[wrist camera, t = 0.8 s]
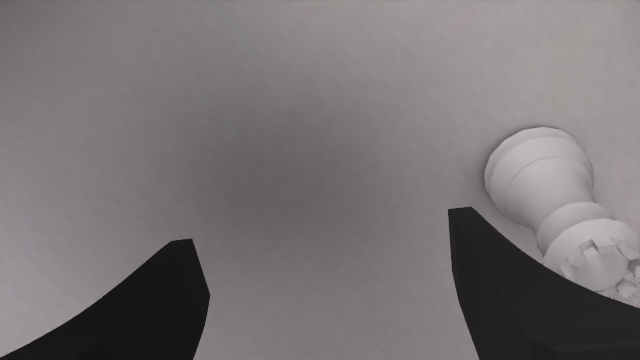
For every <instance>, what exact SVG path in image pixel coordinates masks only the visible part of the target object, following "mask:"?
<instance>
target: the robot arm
mask: <svg viewBox="0 0 640 360" xmlns="http://www.w3.org/2000/svg"><path fill="white" fill-rule="evenodd" d="M448 217H449V232H450V246H451V261H452V273H453V277H454V282H455V287H456V291H457V295H458V300H459V304H460V306H461V309H462V312H463V315H464V318H465V321H466V323H467V326H468V329H469V332H470V334H471V337H472V340H473V343H474V346H475V348H476V351H477V354H478V357H479V359H480V360H640V308H637V307H634V306H631V305H628V304H625V303H622V302H620V301H617V300H614V299H611V298H609V297H606V296H604V295H601V294H599V293H596V292H594V291H592V290H589V289H587V288H585V287H583V286H581V285H579V284H576V283H574V282H572V281H570V280H568V279H566V278H565V277H563V276H561V275H559V274H557V273H556V272H554V271H552V270H550V269H549V268H547V267H545V266H544V265H542V264H540V263H539V262H537V261H536V260H534V259H533V258H531V257H530V256H529V255H527V254H526V253H524V252H523V251H522V250H520V249H519V248H518V247H516V246H515V245H514V244H513V243H511V242H510V241H509V240H508V239H507V238H505V237H504V236H503V235H502V234H501V233H499V232H498V231H497V230H496V229H495V228H494V227H493V226H492V225H491V224H489V223H488V222H487V221H486V220H485V219H484V218H483V217H482V216H481V215H480V214H479V213H478V212H477V211H476V210H475V209H473V208H472V207H463V208H455V209H448ZM209 300H210V293H209V290H208V286H207V283H206V280H205V277H204V274H203V271H202V268H201V265H200V262H199V259H198V255H197V252H196V249H195V246H194V243H193V240H192V239H183V240H175V241H171V242H169V243H168V244H167V245H165V246H164V247H163V248H161V249H160V250H159V251H158V252H157V253H155V254H154V255H153V256H152V257H151V258H149V259H148V260H147V261H146V262H145V263H144V264H142V265H141V266H140V267H139V268H138V269H136V270H135V271H134V272H133V273H132V274H131V275H129V276H128V277H127V278H126V279H125V280H123V281H122V282H121V283H120V284H118V285H117V286H116V287H115V288H113V289H112V290H111V291H109V292H108V293H107V294H106V295H104V296H103V297H102V298H101V299H99V300H98V301H97V302H95V303H94V304H93V305H91V306H90V307H88V308H87V309H85V310H84V311H83V312H81V313H80V314H78V315H77V316H75V317H73V318H72V319H70V320H69V321H67V322H66V323H64V324H63V325H61V326H59V327H57V328H56V329H54V330H52V331H50V332H49V333H47V334H45V335H43V336H42V337H40V338H38V339H36V340H34V341H33V342H31V343H29V344H27V345H25V346H23V347H21V348H19V349H17V350H15V351H13V352H11V353H9V354H7V355H5V356H3V357H0V360H193V358H194V356H195V353H196V350H197V347H198V344H199V341H200V338H201V335H202V332H203V329H204V326H205V321H206V316H207V312H208V306H209Z"/></svg>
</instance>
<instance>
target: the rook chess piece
mask: <svg viewBox="0 0 640 360" xmlns="http://www.w3.org/2000/svg"><path fill="white" fill-rule="evenodd" d="M484 177H485V189H486V191H487V193H488V194H489V196H490V198H491V199H492V201H493V202H494V204H495V205H496V207H497V208H498V210H499V211H500V213H502V214H503V215H505V216H506V217H508V218H509V219H511V220H512V221H514V222H515V223H517V224H520V225H524V226H526V227H529V228H531V229H532V231H533V232H534V233H535V234H536V235H537V247H538V249H539V250H540V252H541V254H542V255H543V257H544V266H545V267H547V268H549V269H550V270H552V271H554V272H556V273H557V274H559V275H561V276H563V277H565V278H566V279H568V280H570V281H572V282H574V283H576V284H579V285H581V286H583V287H585V288H587V289H589V290H592V291H594V292H596V293H599V294H601V295H604V296H606V297H608V295H611V294H613V293H615V292H618V291H619V292H620V293H621V295H622V296H623V297H624V298H625V299H627V298H628V297H630V296H631V295H632V294H633V293H634V292H636V291H637V290H638V289H637V288H636V287H635V285H634V284H633V283H632V279H633V277H634V276H635V278H640V237H639V235H638V233H637V231H636V230H634V229H633V228H631V227H630V226H628V225H627V224H625V223H624V222H621V221H616V220H615V219H614V217H613V215H612V213H611V212H610V211H609V210H607V209H606V208H604V207H603V206H602V205H600V204H596V203H595V201H594V199H593V197H592V188H593V167H592V164H591V162H590V160H589V158H588V156H587V154H586V152H585V151H584V150H583V149H582V148H581V146H580V144H579V142H578V141H577V140H576V139H574V138H573V137H572V136H570V135H569V134H567V133H566V132H565V131H563V130H558V129H553V128H548V127H539V128H533V129H527V130H522V131H520V132H519V133H517V134H515V135H513V136H511V137H509V138H508V139H506V140H504V141H503V142H502V143H501V144H500V145H499V147H498V148H497V149H496V150H495V151H494V152H493V153H492V154H491V155H490V158H489V161H488V164H487V166H486V169H485V172H484Z"/></svg>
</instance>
